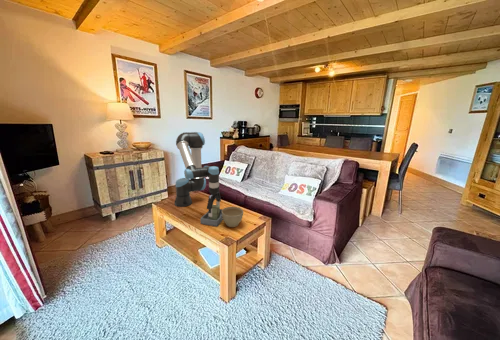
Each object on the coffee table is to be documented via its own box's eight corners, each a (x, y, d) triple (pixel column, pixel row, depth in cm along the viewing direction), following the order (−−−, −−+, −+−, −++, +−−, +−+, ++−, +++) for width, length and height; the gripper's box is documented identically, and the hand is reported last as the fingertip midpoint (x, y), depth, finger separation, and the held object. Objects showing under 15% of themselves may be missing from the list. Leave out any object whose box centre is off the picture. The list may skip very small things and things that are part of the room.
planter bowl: (235, 232, 142) (235, 218, 140) (217, 225, 150) (217, 212, 147) (247, 222, 156) (247, 209, 153) (229, 217, 164) (229, 204, 161)
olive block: (212, 216, 163) (212, 204, 160) (219, 217, 161) (219, 205, 159) (209, 219, 157) (209, 207, 155) (216, 220, 156) (216, 208, 153)
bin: (212, 212, 170) (212, 207, 169) (227, 215, 167) (227, 210, 166) (200, 223, 152) (200, 218, 151) (217, 226, 149) (217, 221, 147)
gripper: (211, 193, 140) (211, 220, 145) (225, 182, 163) (225, 206, 169) (201, 191, 142) (202, 219, 147) (216, 181, 165) (216, 205, 171)
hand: (214, 212), depth 158 cm, fingers open, 13 cm apart
